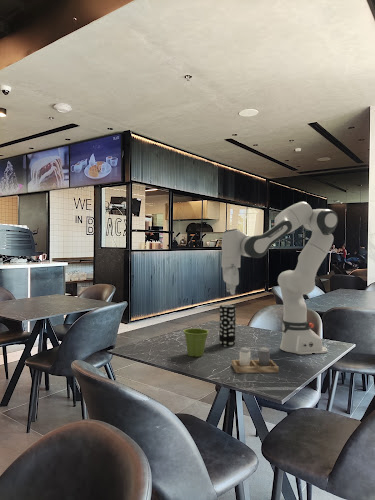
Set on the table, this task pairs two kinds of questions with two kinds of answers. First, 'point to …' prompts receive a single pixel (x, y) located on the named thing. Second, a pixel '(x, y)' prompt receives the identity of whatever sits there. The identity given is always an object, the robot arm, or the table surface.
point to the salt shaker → (244, 357)
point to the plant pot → (195, 341)
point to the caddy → (254, 367)
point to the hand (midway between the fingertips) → (230, 293)
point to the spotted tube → (227, 325)
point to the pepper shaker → (264, 357)
